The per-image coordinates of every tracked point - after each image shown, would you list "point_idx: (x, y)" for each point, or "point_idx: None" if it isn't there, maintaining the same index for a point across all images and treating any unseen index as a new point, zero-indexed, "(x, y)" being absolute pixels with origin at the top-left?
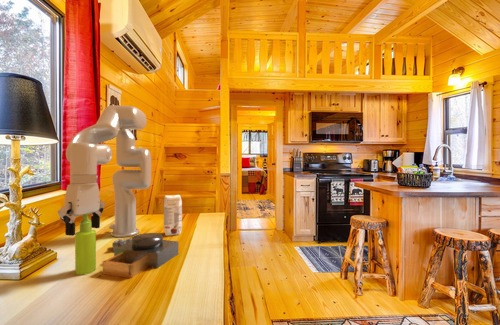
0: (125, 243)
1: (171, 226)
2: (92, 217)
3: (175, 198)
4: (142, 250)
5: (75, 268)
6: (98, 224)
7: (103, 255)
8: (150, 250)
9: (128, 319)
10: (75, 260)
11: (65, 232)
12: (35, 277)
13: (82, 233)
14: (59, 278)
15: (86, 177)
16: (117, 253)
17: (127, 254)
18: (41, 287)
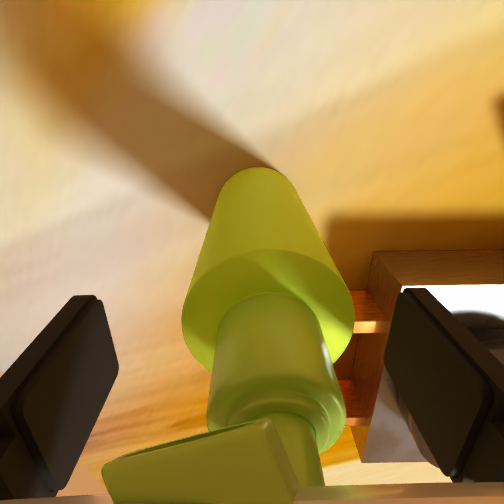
0: None
1: None
2: (469, 406)
3: None
4: (390, 408)
5: (221, 191)
6: (404, 393)
7: (462, 126)
8: (394, 430)
9: (98, 477)
10: (216, 206)
11: (64, 305)
12: (110, 21)
13: (209, 352)
14: (157, 163)
15: None
16: (388, 290)
17: (378, 340)
18: (70, 170)
